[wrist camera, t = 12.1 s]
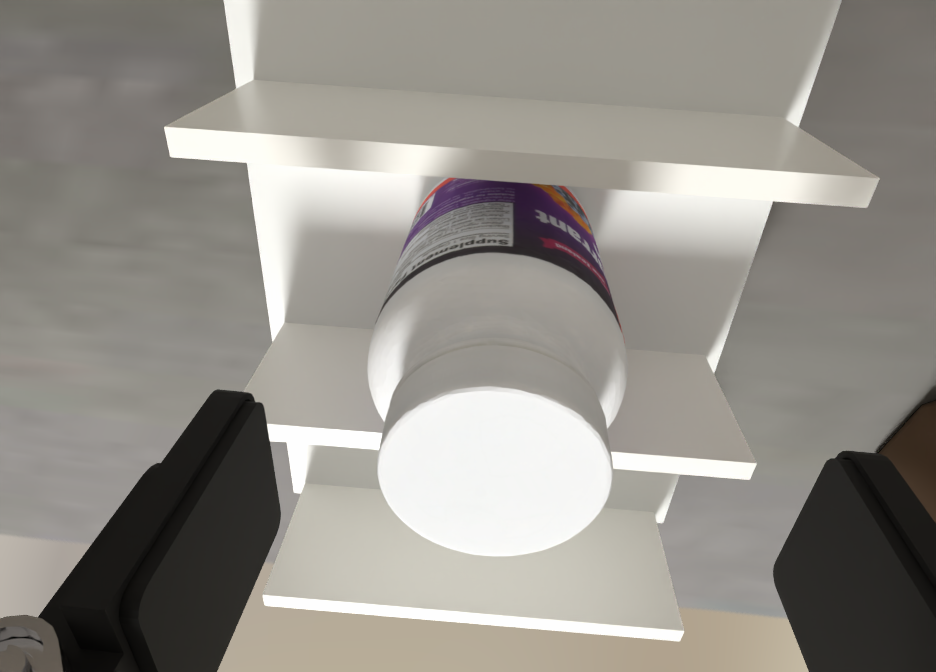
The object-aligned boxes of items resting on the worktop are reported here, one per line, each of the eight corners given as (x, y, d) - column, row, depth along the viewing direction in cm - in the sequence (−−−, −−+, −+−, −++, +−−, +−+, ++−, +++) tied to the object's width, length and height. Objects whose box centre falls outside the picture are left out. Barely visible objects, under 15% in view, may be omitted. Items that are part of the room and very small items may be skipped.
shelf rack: (897, -263, 13) (1176, -413, 8) (655, 495, 26) (694, 642, 20) (208, -305, 13) (-1, -477, 8) (304, 466, 26) (250, 604, 21)
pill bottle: (615, 283, 19) (697, 542, 11) (460, 341, 20) (426, 608, 12) (551, 119, 16) (592, 296, 8) (378, 199, 18) (267, 416, 10)
